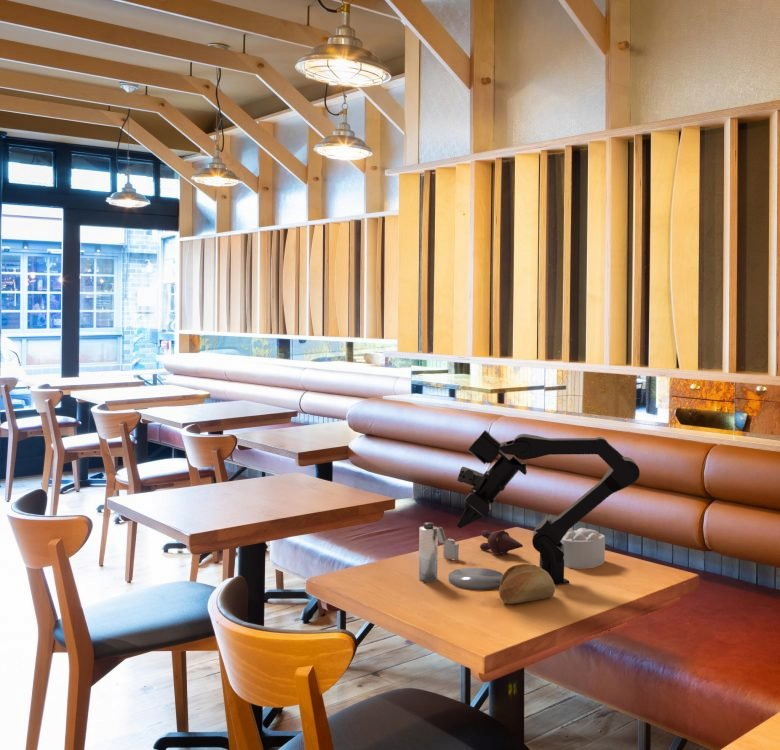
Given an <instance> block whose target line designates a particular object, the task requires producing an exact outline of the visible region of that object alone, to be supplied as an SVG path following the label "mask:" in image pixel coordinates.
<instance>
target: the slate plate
mask: <svg viewBox="0 0 780 750" xmlns="http://www.w3.org/2000/svg"><path fill="white" fill-rule="evenodd" d="M503 575H504V573H502V572H500V571H497V570H494V569H489V568H484V567H483V568H482V567H463V568H458V569H454V570H452V571H450V572H449V573H448V582H449V584H451V585H452V584H453V586H454V585H455V587H458V588H461V589H464V590H465V589H467V590H474V591H475V590H476V591H477V590H478V591H480V590H481V591H484V590H485V591H486V590H493V589H498V588H499V587H500V582H501V579H502V577H503Z"/></svg>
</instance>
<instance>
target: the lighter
mask: <svg viewBox="0 0 780 750" xmlns="http://www.w3.org/2000/svg"><path fill="white" fill-rule="evenodd" d="M437 528H438V542H439V543H438V544H443V546H442V547H443V553H442V554H443V556H442V557H445V558H444V559H446V558H449V559H448V560H450V559H454V560H455V561H458V560H459V549H460V548H459V547H460V545H459V542H458V543H457V542H456V540H455V539H452V538H447V537H446V534H445V531H444V529H443V526H439V527H437ZM457 559H458V560H457ZM454 560H453V561H454Z"/></svg>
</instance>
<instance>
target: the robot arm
mask: <svg viewBox="0 0 780 750" xmlns="http://www.w3.org/2000/svg"><path fill="white" fill-rule="evenodd" d="M467 452H469V453H470V454H471V455H472V456H473V457H475V458H476V459H477V460H479V461H480V462H481V463H482V464H484V465H485V464H490V465H491V464H492V463H494V464H493V465H492V466H491V467H490V469H489V470H486V471H484V472H483V473H481V472H479V471H477V470H474V469H471V468H468V467H466V466H462V467H461V468H460V470H459V473H458V476H457V480H456V481H457V482H459V483H464V484H467V485H470V486H471V488H470V490H469V494H468V495H467V496H466V498H465V499H464V504H465V509H464V510H463V513H462V514H461V516H460V518H459V520H458V523H457V524H456V527H458V529H462V528H463V527H465V526H467V525H470V524H473V522H476V521H478V520H480V519H482V518H484V517H486V516H488V514H489V513H490V511H491V508H492V506H491V504H494V502H495V501H496V498H497V497H498V496H499V495H500V494H501V493H502V492H503V491H504V490H505V488H506V486H508V484H509V483H510V482H511V480H512V479H513V478H514V477H515V476H516V475H517V473H518V472H521V473H522V474H523V475H525V476H526V475H527V473H528V470H527V465H528V462H526V461H525V460H531V459H536V458H537V459H538V458H541V457H544V456H550V455H557V456H559V455H598V457H600V459H602V460H603V462H605V464H607V465H608V467H609V468H608V469H607V471H606V472H605V473H604V476H603V477H602V478H601V480H599V481H598V482H597V483H596V484H595V485H593V486H592V487H591V488H590V489H589V490H587V491H586V492H585V493H584V494H583V495H582V496H580V497H579V498H578V499H577V500H576V501H574V503H572V504H570V505H569V507H567V508H566V509H565V510H564V511H563V512H561V513H560V514H558V515H557V516H556V517H552V518H551V517H550V516H549V514H547V515H546V516H545V517H544V518H543V519H542V520H541V521H540V522H538V523H535V528H534V530H533V531H532V532H533V533H532V541H531V542H532V546H533V548H534V549H535V551H536V552H538V553H539V567H540V568H542V569H543V570H545V571H546V572H548V573H549V575H550V576H551V578H552V580H553V582H554V585H555V586H556V585H563V584H569V583H570V580H568V579H566V578H565V567H564V545H563V544H562V543H561V542H560V541H561V540H562V538H563V537H564V535H565V534H566V533H567V531H568V530H569V529H570V528H571V529H572V527H574V526H575V525H576V524H577V523H579V521H581V520H582V519H584V517H586V516H587V515H588V514H589V513H591V512H592V511H593V510H594V509H595V508H597V507H598V506H599V505H600V504H602V502H604V501H605V500H606V499H607V498H609V497H610V496H611V495H612V494H613V495H614V494H615V493H617V492H620V491H621V490H624V489H626V488H628V487H629V486H631V485H633V484H634V483H636V482H637V481H638V480H639V478H640V473H641V472H640V471H641V470H640V468H639V466H638V465H637V463H636V461H635V460H634V459H633V458H631V457H628V456H623V454H621V453H620V452H619V451H618V450H617V449H616V448H614V446H612V445H611V444H610V442H608V440H607V439H606V438H605V437H602V436H597V437H580V438H578V437H573V438H572V437H569V438H563V437H562V438H561V437H560V438H555V437H554V438H549V437H545V436H540V435H539V436H538V435H535V434H533V435H532V434H527V433H521V434H518V435H516V436H515V437H514V439H512V440H508V441H503V442H500V441H498V440H497V439H496V438H495V437H494V436H493V435H491V433H489V431H487V429H486V430H483V432H482V433H481V434H480V435H479V437H478V438H475V440H474V441H473V443H472V444H471V445H470V447H468V449H467ZM509 455H510V456H511V457H510V456H509ZM498 456H499V457H498ZM497 457H498V458H497ZM496 458H497V460H496V461H495V459H496ZM494 461H495V462H494ZM521 461H525V462H521Z"/></svg>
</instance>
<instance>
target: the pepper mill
mask: <svg viewBox="0 0 780 750" xmlns="http://www.w3.org/2000/svg"><path fill="white" fill-rule="evenodd" d="M418 528H419V529H418V530H419V535H418V536H419V537H418V541H419V542H418V550H419V551H418V581H420V582H423V583H435V582H437V581H438V561H439V560H438V556H439V553H438V552H439V548H438V547H439V543H438V542H439V540H438V528H439V527H438V526H434V522H429V521H428V522H423V526H422V525H421V526H420V527H418Z"/></svg>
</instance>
